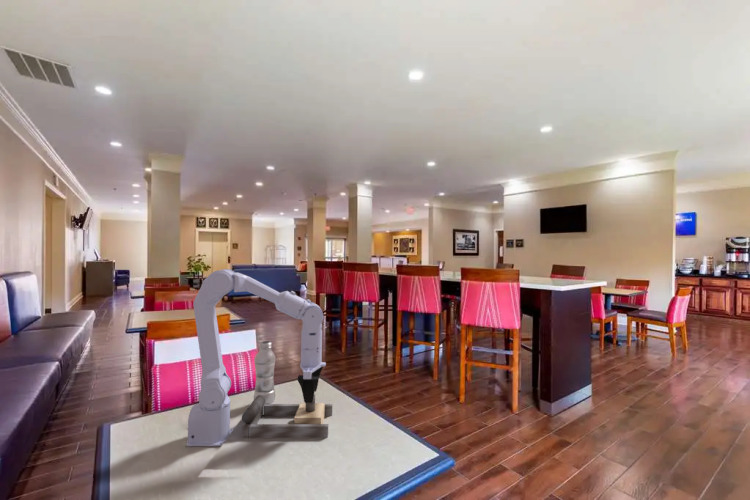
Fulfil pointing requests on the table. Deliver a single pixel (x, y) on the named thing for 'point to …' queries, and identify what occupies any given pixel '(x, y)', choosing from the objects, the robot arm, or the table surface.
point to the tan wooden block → (310, 413)
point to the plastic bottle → (265, 372)
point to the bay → (280, 430)
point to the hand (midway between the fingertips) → (310, 396)
